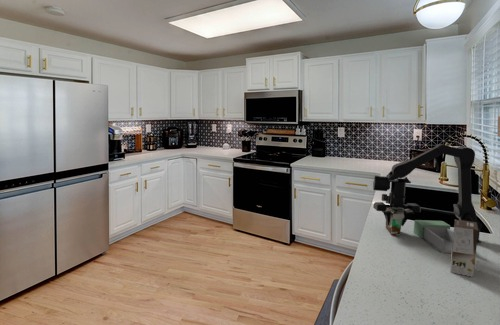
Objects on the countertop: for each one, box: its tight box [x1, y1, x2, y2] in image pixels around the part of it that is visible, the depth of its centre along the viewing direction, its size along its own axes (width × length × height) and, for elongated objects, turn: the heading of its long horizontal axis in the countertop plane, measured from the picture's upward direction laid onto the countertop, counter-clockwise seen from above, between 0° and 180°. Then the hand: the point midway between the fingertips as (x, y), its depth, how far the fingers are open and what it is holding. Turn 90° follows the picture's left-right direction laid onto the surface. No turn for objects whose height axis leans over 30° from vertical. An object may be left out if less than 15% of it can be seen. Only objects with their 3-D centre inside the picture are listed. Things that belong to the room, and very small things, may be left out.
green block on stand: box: [413, 219, 454, 254], centre depth 122 cm, size 12×21×6 cm, turn 175°
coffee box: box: [449, 219, 478, 278], centre depth 99 cm, size 9×6×16 cm
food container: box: [385, 209, 404, 236], centre depth 134 cm, size 12×6×10 cm, turn 169°
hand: (395, 225), depth 134 cm, fingers closed on food container, 6 cm apart
